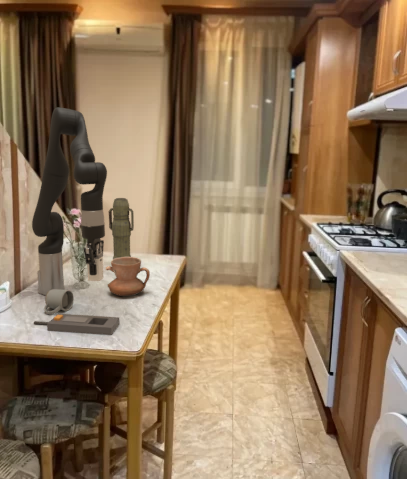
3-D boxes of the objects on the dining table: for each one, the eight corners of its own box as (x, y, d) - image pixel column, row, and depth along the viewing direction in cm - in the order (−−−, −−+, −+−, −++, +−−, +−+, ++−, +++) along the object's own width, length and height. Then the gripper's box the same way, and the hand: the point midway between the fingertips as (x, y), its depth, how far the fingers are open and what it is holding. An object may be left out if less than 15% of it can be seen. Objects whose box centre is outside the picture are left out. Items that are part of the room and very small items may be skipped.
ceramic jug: (102, 298, 186) (101, 264, 183) (110, 287, 200) (109, 255, 197) (147, 299, 185) (146, 265, 182) (152, 288, 199) (151, 256, 196)
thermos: (112, 267, 230) (110, 197, 222) (135, 268, 229) (135, 197, 221) (107, 272, 221) (105, 199, 213) (132, 273, 220) (131, 200, 213)
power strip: (27, 329, 155) (26, 319, 155) (39, 318, 164) (39, 310, 163) (111, 334, 152) (111, 325, 151) (119, 324, 161) (119, 315, 160)
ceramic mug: (56, 304, 179) (55, 285, 177) (74, 306, 176) (73, 287, 175) (38, 314, 169) (37, 294, 167) (57, 317, 167) (56, 296, 165)
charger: (88, 280, 156) (86, 254, 154) (92, 277, 160) (90, 252, 158) (100, 281, 156) (98, 255, 154) (103, 277, 160) (102, 252, 158)
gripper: (89, 219, 161) (91, 267, 165) (74, 226, 148) (77, 278, 151) (110, 220, 161) (112, 267, 164) (96, 227, 147) (99, 279, 150)
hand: (95, 272), depth 157 cm, fingers closed on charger, 4 cm apart
